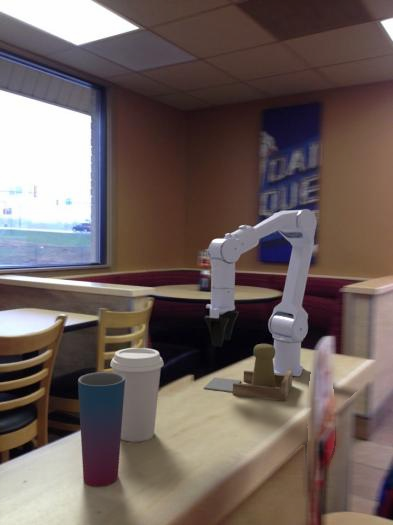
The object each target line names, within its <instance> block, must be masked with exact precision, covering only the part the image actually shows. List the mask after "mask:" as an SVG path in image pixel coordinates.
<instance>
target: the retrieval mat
mask: <svg viewBox="0 0 393 525" xmlns="http://www.w3.org/2000/svg"><path fill="white" fill-rule="evenodd" d="M241 382H242V380H241V379H233V378H225V377H224V378H223V377H218V376H217V377H215V376H214V377H213V378H212V379H211V380H210V381H209V382H208V383H207V384H206V385H205V386H204V387H203V389H204V390H212V391H219V392H227V393H233V383H241Z"/></svg>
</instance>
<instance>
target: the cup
mask: <svg viewBox="0 0 393 525" xmlns="http://www.w3.org/2000/svg"><path fill="white" fill-rule="evenodd" d="M77 387H78V404H79V405H78V406H79V424H80V438H81V439H80V441H81V444H80V445H81V457H82V459H81V461H82V474H83V475H82V479H83V480H82V481H83V482H84V484H86V485H88V486H90V487H97V488H99V487H106V486H109V485H111V484H113V483H115V482H116V481H117V480H118V478H119V465H120V454H121V453H120V451H121V440H122V439H121V428H122V415H123V401H124V388H125V377H124V376H123V375H121V374H118V373H113V371H112V372H109V371H108V372H107V371H102V372H101V371H99V372H97V371H96V372H91V373H86V374H84V375H81V376H80V377H79V378H78V380H77Z"/></svg>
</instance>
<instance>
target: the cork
mask: <svg viewBox="0 0 393 525" xmlns="http://www.w3.org/2000/svg"><path fill="white" fill-rule="evenodd" d="M252 350H253V356H254V358H255V360H254V365H253V366H254V368H253V371H254V372H253V378H252V382H251V384H250V385H257V386H266V387H274V388H277V387H276V386H277V385H276V384H275V375H274V365H273V360H274V357H275V352H276V351H275V348H274V345H272V344H268V343H260V344H256V345H255V346H254V347H253V349H252Z"/></svg>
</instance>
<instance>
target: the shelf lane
mask: <svg viewBox="0 0 393 525" xmlns="http://www.w3.org/2000/svg"><path fill="white" fill-rule="evenodd" d="M253 372H254V370H253V371H251V370H243V382H248V383H241V382H240V383H233V392H232V395H233V396H240V397H241V396H242V397H248V398H249V397H250V398H256V399H264V400H271V399H275V400H274V401H279V400H281V401H280V402H286V400H287V398H288V395H289V394H290V391H291V389H292V387H293V376H292V370H290V369H288V371H287V373H286V375H281V374H274V375H275V384H276V386H280V387H276V388H274V387H266V386H257V385H251V384H249V383H252V378H253Z"/></svg>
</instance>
